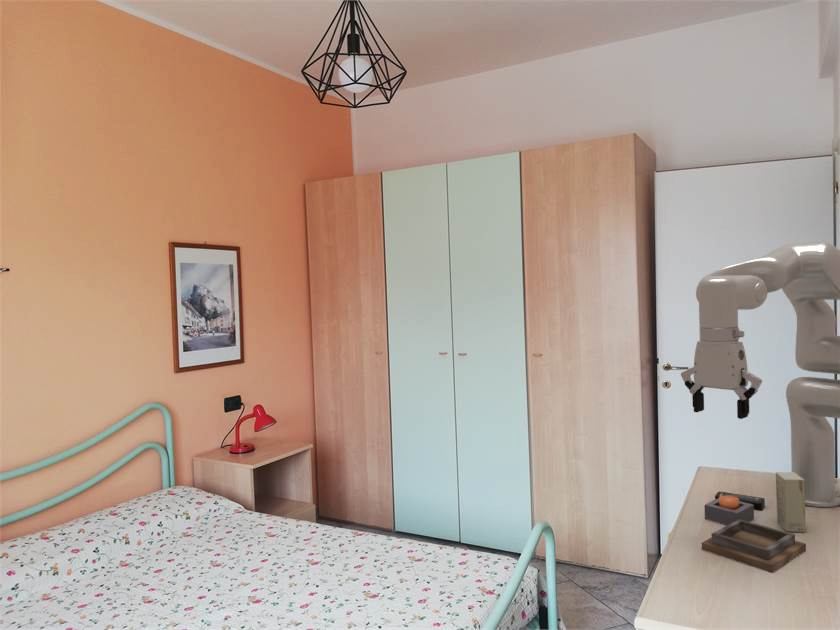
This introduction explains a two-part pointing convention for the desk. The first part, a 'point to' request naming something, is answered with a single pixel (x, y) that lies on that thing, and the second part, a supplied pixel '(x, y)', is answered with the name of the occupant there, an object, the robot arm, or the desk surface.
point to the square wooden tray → (754, 545)
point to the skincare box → (790, 501)
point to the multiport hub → (746, 499)
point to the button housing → (728, 512)
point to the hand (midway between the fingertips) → (720, 414)
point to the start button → (729, 502)
